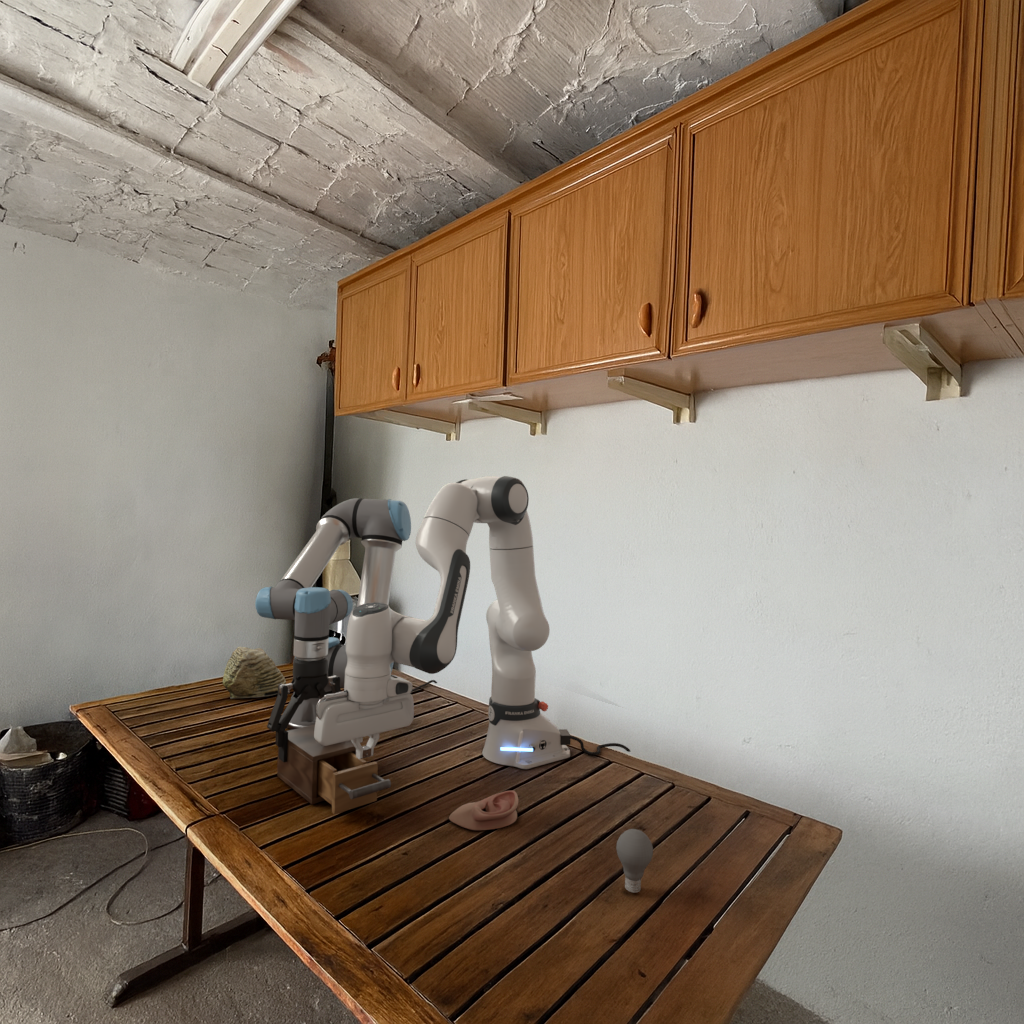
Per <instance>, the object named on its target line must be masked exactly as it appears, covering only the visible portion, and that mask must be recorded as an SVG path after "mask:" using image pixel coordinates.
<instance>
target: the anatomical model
mask: <svg viewBox="0 0 1024 1024" xmlns="http://www.w3.org/2000/svg"><path fill="white" fill-rule="evenodd" d="M518 807H519V796H518V793H517V791H515V790H505V791H501V792H498V793H496V794H492V795H490V796H488V797H486V798H483V799H481V800H478V801H475V802H474V801H472V802H467V803H465V804H463V805H461V806H459V807H457V808H456V809H455V810H453V811H452V812H451V813H450V815H449V816H448V820H449V821H450V822H451V823H453V824H455V825H457V826H459V827H462V828H465V829H466V830H467V829H468V830H470V831H489V830H495V829H501V828H504V827H507V826H510V825H513V824H514V823H515V822H516V821H517V819H518V812H517V809H518Z"/></svg>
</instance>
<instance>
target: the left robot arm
mask: <svg viewBox="0 0 1024 1024" xmlns="http://www.w3.org/2000/svg"><path fill="white" fill-rule="evenodd" d="M315 530H316V531H315V532H314V533H313V535H312V536H311V538H310V539H309V540H308V542H307V543H306V545H305V546H304V547H303V548H302V550H301V551H300V553H299V554H298V555H297V557H296V558H295V559H294V561H293V562H292V563H291V565H290V567H289V568H288V569H287V570H286V572H285V573H284V575H283V576H282V578H280V580H279V581H278V582H277V584H276V586H274V587H273V586H265V587H263V588H261V589H259V591H258V592H257V595H256V598H255V603H254V604H255V611H256V613H257V614H258V615H259V616H260V617H261V618H265V619H272V620H284V621H285V620H286V621H294V634H293V653H292V654H293V657H294V658H293V659H292V660H293V661H292V663H293V664H292V680H291V682H289V683H286V684H282V683H280V684H279V685H278V694H277V696H276V698H275V702H274V705H273V708H272V710H271V712H270V716H269V718H268V722H267V725H266V728H267V729H268V730H269V731H271V732H272V733H274V732H275V741H274V742H275V746H277V748H278V747H279V759H280V760H281V761H283V762H287V750H288V732H287V731H288V730H286V729H289V730H293V729H298V728H303V727H307V726H312V725H315V722H316V717H317V714H316V707H317V703H318V701H319V700H320V699H321V698H323V697H324V695H326V694H334V693H337V692H342V690H344V682H345V668H346V666H347V654H346V644H341V641H340V639H339V638H338V637H334V636H331V637H330V625H332V624H335V623H339V622H341V621H343V620H345V619H346V618H347V617H349V616H350V615H351V612H352V611H353V609H354V601H353V598H352V596H351V595H350V593H348V592H347V591H345V590H344V589H332V590H329V589H328V588H326V587H318V586H314V585H315V584H316V582H317V580H318V579H319V577H320V576H321V574H322V573H323V571H324V569H325V568H326V567H327V565H328V564H329V562H330V561H331V559H332V558H333V557H334V555H335V554H336V552H337V550H338V549H339V547H340V546H342V545H344V544H346V543H347V542H348V540H349V539H352V538H354V539H355V538H358V539H361V540H360V543H361V545H362V546H363V547H364V549H365V550H364V551H365V552H364V556H363V562H362V563H363V564H362V571H361V577H360V583H359V584H360V585H359V591H358V597H357V605H356V607H357V606H359V605H362V604H366V603H373V602H380V603H385V604H387V605H389V604H390V603H389V602H390V595H391V589H392V581H393V574H394V568H395V567H394V566H395V560H396V559H395V558H396V553H397V552H398V551H399V550H400V549H402V546H403V542H406V541H408V540H410V536H411V533H412V518H411V513H410V510H409V507H408V505H407V503H406V502H404V501H402V500H396V499H391V498H388V499H386V498H385V499H383V498H381V499H378V498H361V497H358V498H357V497H354V498H350V499H347V500H344V501H342V502H340V503H338V504H336V505H334V506H333V507H332V508H330V509H329V510H328V511H326V512H325V514H323V515H322V516H321V518H320V519H319V520H318V522H317V523H316V527H315ZM394 663H395V662H393V663H391V664H390V668H391V673H392V672H393V668H394ZM432 683H434V684H438V681H436V680H435V679H431V680H428V681H427V682H426V683H425V682H424V683H423V684H421V685H418V686H416V687H414V688H412V691H411V692H410V693H412V692H415V691H417V690H419V689H422V688H423V687H426V686H428V685H429V684H432ZM291 690H292V691H293V693H292V694H291V697H290V701H289V702H288V704H287V705H286V703H287V700H288V695H289V694H290V693H291ZM322 701H323V700H322ZM285 706H286V707H285Z"/></svg>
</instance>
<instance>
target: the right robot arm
mask: <svg viewBox="0 0 1024 1024" xmlns="http://www.w3.org/2000/svg"><path fill="white" fill-rule="evenodd" d="M529 499H530V498H529V493H528V489H527V487H526V485H525V484H524V483H523V481H522V480H521V479H519V478H516V477H514V476H509V475H503V476H492V475H491V476H490V475H489V476H488V475H487V476H482V477H476V478H470V479H467V478H466V479H461V480H457V481H456V482H449V483H446V484H444V485H443V486H441V488H439V490H438V491H437V493H436V494H435V495H434V497H433V499H432V501H430V503H429V506H428V508H427V510H426V512H425V514H424V516H423V519H422V521H421V522H420V525H419V527H418V530H417V533H416V536H415V547H416V550H417V553H418V555H419V556H420V557H421V558H422V560H423V561H424V562H425V563H426V564H427V565H429V566H430V567H432V568H433V569H434V570H436V571H437V572H438V573H439V576H440V584H439V589H438V593H437V597H436V601H435V605H434V610H433V613H432V616H431V617H430V618H429V619H422V618H416V617H413V616H410V615H409V616H408V615H405V614H402V613H400V612H396V611H395V610H393V609H392V608H391V607H390V605H389V604H388V605H387V604H385V603H380V602H373V603H366V604H362V605H359V606H357V605H356V607H355V608H354V607H353V608H352V611H351V613H350V614H349V618H348V622H347V627H346V635H345V636H346V637H345V645H346V654H347V666H346V668H345V682H344V689H343V690H341V692H337V693H334V694H326V695H324V697H323V698H321V699H320V700H319V701H318V703H317V707H316V714H317V717H316V722H315V729H314V738H315V740H316V741H317V742H319V743H320V744H321V745H323V746H328V745H332V744H336V743H340V742H345V741H349V740H351V741H352V743H353V745H354V746H355V748H356V757H357V758H358V759H363V760H364V759H365V758H370V757H373V756H374V751H375V750H374V748H375V747H376V746H377V744H378V741H379V740H380V734H383V733H385V732H389V731H393V730H398V729H402V728H406V727H410V726H411V724H412V723H413V721H414V717H415V715H414V714H415V701H414V697H413V695H412V692H411V691H412V689H413V682H411V681H409V680H407V678H403V677H401V676H397V675H395V674H392V672H391V668H390V664H391V663H393V662H394V663H397V664H399V665H403V666H407V667H411V668H414V669H416V670H419V671H421V672H424V673H427V674H430V675H434V674H438V673H441V671H443V670H445V669H446V668H447V667H448V666H449V665H450V664H451V663H452V662H453V660H454V659H455V656H456V653H457V648H458V635H459V626H460V621H461V617H462V612H463V609H464V603H465V598H466V594H467V590H468V585H469V581H470V580H469V579H470V575H471V560H470V556H469V555H468V554H467V545H468V541H469V538H470V536H471V533H472V531H473V527H474V524H487V526H488V528H489V529H488V530H489V531H488V532H489V533H488V548H489V562H490V563H489V564H490V579H491V582H492V585H493V588H494V590H495V594H496V595H495V596H496V599H495V600H493V601H492V602H491V603H490V604H489V606H488V607H487V610H486V613H485V615H486V616H485V618H486V619H485V620H486V623H487V624H486V625H487V628H488V637H489V638H488V640H489V649H490V657H491V690H490V691H491V692H490V697H489V699H488V700H489V701H488V709H487V711H488V713H487V715H488V727H487V732H486V737H485V742H484V745H483V748H482V750H481V751H482V752H481V755H482V756H483V757H484V759H486V761H487V760H488V761H489V762H491V763H494V764H497V765H502V766H508V767H515V768H518V769H521V770H529V769H534V768H537V767H540V766H543V765H547V764H551V763H554V762H558V761H561V760H562V761H563V760H565V759H569V758H570V757H571V750H570V748H569V747H568V746H570V745H571V741H572V740H574V741H576V742H578V743H579V746H580V750H581V751H582V752H583V753H585V754H586V755H589V756H599V755H601V753H602V752H601V751H602V750H601V749H603V748H608V747H617V748H621V749H623V750H625V751H626V752H629V753H630V752H631V749H630V748H629V747H628V746H626V745H624V744H623V743H618V742H610V743H603V744H599V745H597V747H596V751H589V750H588V749H586V748H585V745H584V742H583V740H582V739H581V738H579V737H576V736H574V735H571V734H570V732H569V730H568V729H563V728H562V729H559V727H558V726H557V725H556V724H555V723H554V722H553V721H551V720H550V719H549V718H548V717H547V716H545V715H544V714H543V713H541V711H542V712H546V711H548V709H549V705H548V703H546V702H545V701H540V700H539V699H538V698H536V675H537V673H536V672H537V669H536V665H535V662H534V658H533V652H534V651H537V650H540V649H541V648H543V646H544V645H546V643H547V641H548V639H549V637H550V624H549V621H548V620H547V617H546V615H545V612H544V608H543V603H542V599H541V594H540V591H539V587H538V582H537V577H536V566H535V565H536V564H535V553H534V538H533V530H532V524H531V521H530V517H529V513H528V507H529ZM322 700H323V701H322ZM364 737H368V740H367V742H366V745H363V746H362V743H363V742H364V741H363V740H364Z"/></svg>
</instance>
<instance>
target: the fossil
mask: <svg viewBox="0 0 1024 1024" xmlns="http://www.w3.org/2000/svg"><path fill="white" fill-rule="evenodd" d="M222 676H223V677H222V685H223V687H224V688H225V690H226V691H228V693H229V698H230V699H250V698H264V697H271V696H275V695H278V685H279V684H280V683H282V684H287V680H286V678H285V676H284V674H283V673H282V672H281V669H279V668H278V667H277V665H276V663H275V662H274V660H273V659H272V658H271V657H270V656H269V655H268V654H267V653H266V652H265V650H264V649H263V648H260V647H258V648H251V647H247V646H246V647H245V646H238V647H237V648H236V649H235V650H233V651H232V653H231V656H230V657H229V659H228V660H227V663H226V666H225V668H224V671H223V675H222Z"/></svg>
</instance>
